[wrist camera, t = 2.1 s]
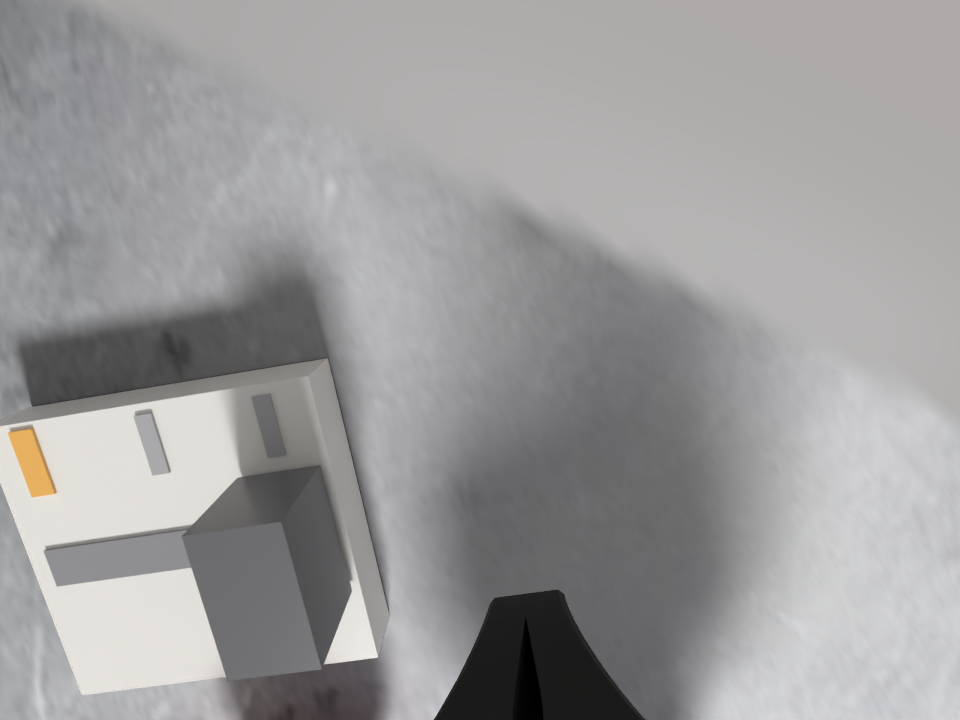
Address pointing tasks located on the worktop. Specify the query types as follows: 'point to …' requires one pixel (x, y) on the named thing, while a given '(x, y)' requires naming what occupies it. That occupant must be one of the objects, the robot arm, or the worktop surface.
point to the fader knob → (270, 573)
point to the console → (171, 513)
